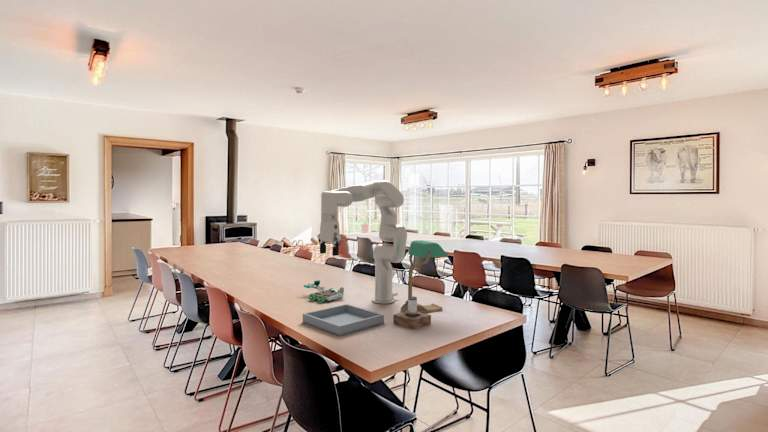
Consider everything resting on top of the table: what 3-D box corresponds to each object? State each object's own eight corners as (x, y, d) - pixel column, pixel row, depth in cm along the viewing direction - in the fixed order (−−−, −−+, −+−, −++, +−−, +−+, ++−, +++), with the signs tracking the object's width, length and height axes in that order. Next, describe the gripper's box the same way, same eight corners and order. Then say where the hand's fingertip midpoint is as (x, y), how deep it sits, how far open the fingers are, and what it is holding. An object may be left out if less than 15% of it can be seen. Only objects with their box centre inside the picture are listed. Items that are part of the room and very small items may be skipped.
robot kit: (315, 292, 255) (315, 276, 255) (348, 298, 241) (348, 281, 241) (292, 297, 240) (292, 281, 239) (326, 304, 226) (326, 287, 225)
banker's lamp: (397, 309, 218) (398, 240, 216) (431, 304, 227) (432, 239, 226) (413, 316, 204) (414, 244, 202) (448, 312, 213) (450, 242, 212)
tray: (346, 311, 211) (346, 303, 211) (384, 323, 193) (384, 314, 192) (302, 322, 192) (302, 313, 192) (339, 336, 174) (339, 326, 174)
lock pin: (411, 321, 196) (412, 295, 195) (418, 323, 193) (418, 297, 192) (405, 323, 193) (406, 297, 192) (412, 325, 190) (412, 298, 189)
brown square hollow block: (410, 318, 201) (410, 309, 201) (430, 323, 193) (430, 315, 193) (393, 323, 193) (393, 314, 193) (413, 329, 184) (413, 320, 184)
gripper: (347, 218, 195) (347, 255, 196) (324, 216, 207) (324, 251, 208) (334, 218, 189) (334, 257, 190) (311, 217, 202) (311, 253, 203)
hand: (329, 254), depth 199 cm, fingers open, 9 cm apart
